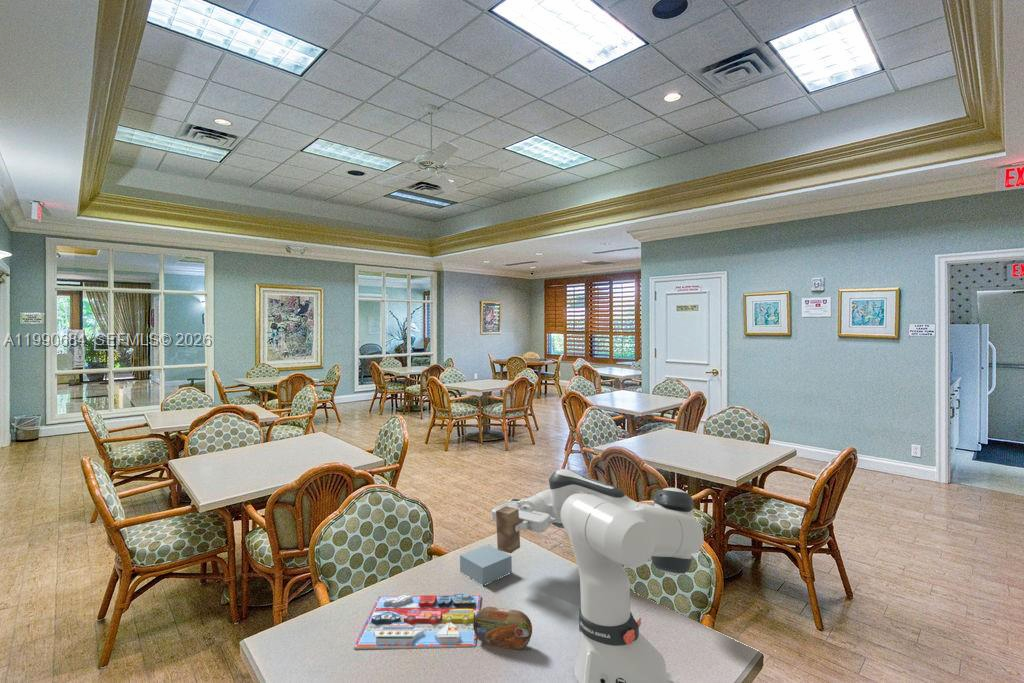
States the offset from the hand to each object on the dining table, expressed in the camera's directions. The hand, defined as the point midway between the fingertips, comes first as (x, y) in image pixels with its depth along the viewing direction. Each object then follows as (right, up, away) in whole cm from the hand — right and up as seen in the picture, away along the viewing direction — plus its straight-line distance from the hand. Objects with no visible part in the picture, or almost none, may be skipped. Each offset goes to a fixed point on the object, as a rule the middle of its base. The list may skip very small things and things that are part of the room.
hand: (506, 526), depth 146 cm
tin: (0, -19, -27) cm, 33 cm away
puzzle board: (-22, -20, -17) cm, 34 cm away
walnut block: (+1, -7, +1) cm, 7 cm away
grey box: (-7, -19, +9) cm, 22 cm away
